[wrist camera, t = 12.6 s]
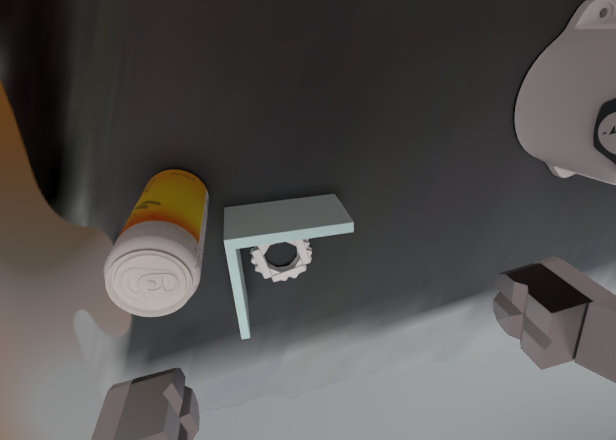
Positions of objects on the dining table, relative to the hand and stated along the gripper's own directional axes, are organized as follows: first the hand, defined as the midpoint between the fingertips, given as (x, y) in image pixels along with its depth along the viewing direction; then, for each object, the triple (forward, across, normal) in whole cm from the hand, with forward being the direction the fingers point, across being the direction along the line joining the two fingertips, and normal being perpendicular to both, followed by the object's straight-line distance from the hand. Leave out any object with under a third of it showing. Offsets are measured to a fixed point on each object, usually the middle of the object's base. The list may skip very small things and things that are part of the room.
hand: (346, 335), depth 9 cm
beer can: (+29, +10, +6) cm, 32 cm away
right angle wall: (+30, +1, +15) cm, 34 cm away
